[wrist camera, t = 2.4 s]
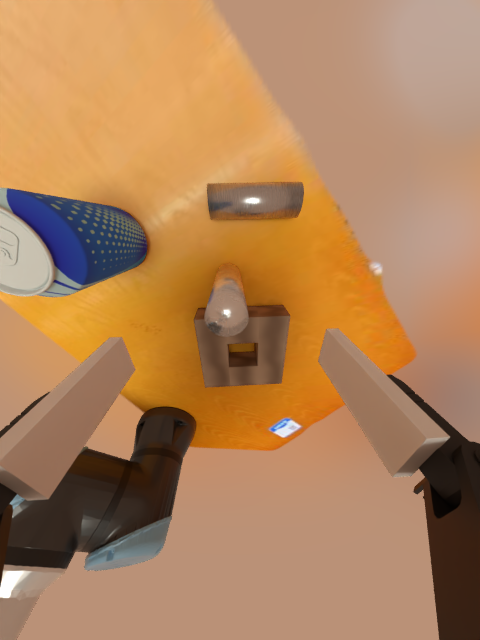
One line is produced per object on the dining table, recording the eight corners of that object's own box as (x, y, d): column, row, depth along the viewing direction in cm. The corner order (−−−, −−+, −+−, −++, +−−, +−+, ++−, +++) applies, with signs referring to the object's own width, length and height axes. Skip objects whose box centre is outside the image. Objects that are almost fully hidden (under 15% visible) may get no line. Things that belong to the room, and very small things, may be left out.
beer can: (160, 258, 28) (90, 289, 14) (115, 274, 29) (5, 319, 15) (130, 197, 24) (-11, 157, 10) (78, 218, 25) (-118, 207, 11)
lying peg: (212, 213, 26) (210, 224, 24) (208, 180, 23) (206, 188, 21) (291, 211, 27) (297, 222, 24) (297, 178, 23) (306, 186, 21)
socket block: (207, 371, 40) (205, 387, 36) (198, 308, 33) (193, 319, 29) (276, 368, 41) (281, 383, 37) (283, 305, 33) (290, 315, 29)
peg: (218, 286, 31) (207, 337, 17) (216, 263, 29) (201, 298, 15) (240, 286, 31) (248, 335, 17) (240, 262, 29) (248, 296, 15)
